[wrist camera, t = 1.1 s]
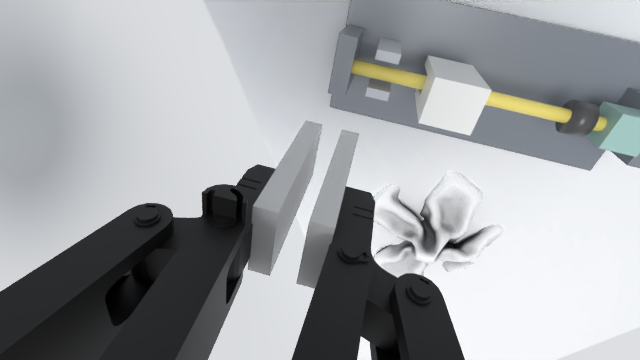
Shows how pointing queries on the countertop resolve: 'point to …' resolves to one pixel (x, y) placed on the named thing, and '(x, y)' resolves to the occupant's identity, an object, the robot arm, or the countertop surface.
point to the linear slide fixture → (496, 77)
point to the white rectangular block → (451, 96)
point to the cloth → (432, 227)
